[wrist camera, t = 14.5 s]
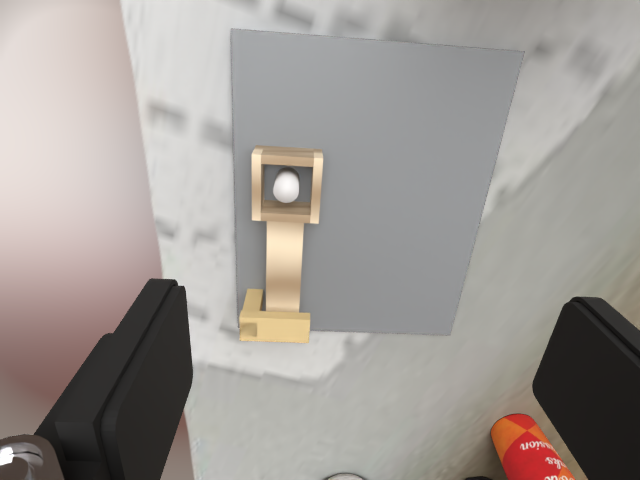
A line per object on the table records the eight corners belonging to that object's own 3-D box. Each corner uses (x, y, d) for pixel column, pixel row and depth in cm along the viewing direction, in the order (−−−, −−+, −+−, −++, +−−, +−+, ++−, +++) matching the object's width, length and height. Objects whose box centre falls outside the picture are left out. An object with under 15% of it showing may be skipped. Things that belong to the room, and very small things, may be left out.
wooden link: (256, 145, 33) (251, 154, 30) (321, 149, 33) (323, 158, 31) (256, 312, 40) (252, 332, 38) (310, 314, 41) (310, 333, 38)
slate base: (518, 51, 31) (564, 53, 26) (447, 329, 43) (467, 371, 38) (233, 28, 30) (216, 25, 25) (239, 321, 42) (229, 364, 36)
